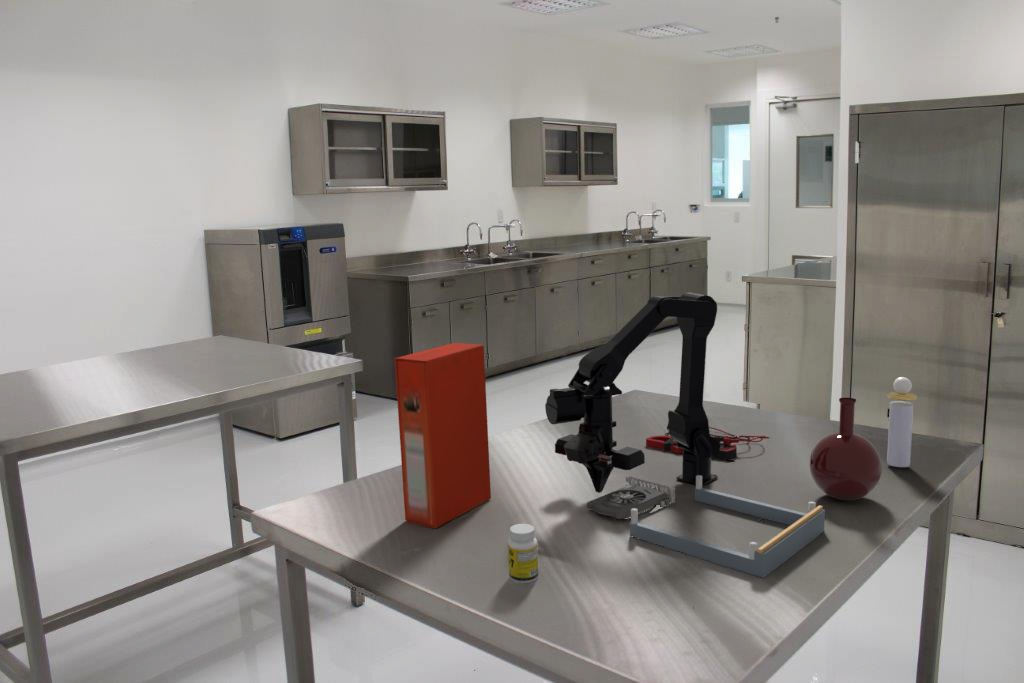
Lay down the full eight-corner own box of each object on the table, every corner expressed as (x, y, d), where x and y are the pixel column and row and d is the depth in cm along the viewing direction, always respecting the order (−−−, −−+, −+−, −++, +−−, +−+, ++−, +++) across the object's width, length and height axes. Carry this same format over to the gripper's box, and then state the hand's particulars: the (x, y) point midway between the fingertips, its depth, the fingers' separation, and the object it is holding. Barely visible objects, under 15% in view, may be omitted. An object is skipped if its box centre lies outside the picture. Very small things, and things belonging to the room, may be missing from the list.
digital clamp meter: (741, 448, 181) (639, 432, 196) (740, 467, 182) (639, 450, 196) (775, 422, 200) (681, 409, 214) (775, 440, 200) (680, 426, 215)
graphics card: (629, 474, 170) (676, 486, 161) (629, 491, 170) (677, 504, 161) (573, 496, 159) (620, 510, 150) (574, 514, 159) (621, 530, 150)
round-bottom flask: (847, 516, 152) (852, 411, 148) (793, 494, 163) (796, 397, 160) (895, 502, 158) (900, 401, 154) (840, 482, 169) (843, 388, 166)
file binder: (404, 520, 157) (394, 357, 151) (459, 492, 170) (452, 342, 165) (436, 529, 152) (427, 361, 146) (491, 499, 166) (484, 345, 160)
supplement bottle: (508, 571, 134) (506, 523, 132) (536, 569, 134) (535, 521, 133) (510, 585, 129) (508, 535, 128) (540, 583, 129) (538, 533, 128)
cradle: (697, 498, 163) (698, 474, 162) (824, 531, 145) (825, 504, 144) (629, 536, 146) (629, 509, 145) (763, 578, 129) (764, 548, 128)
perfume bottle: (917, 471, 174) (922, 380, 170) (889, 471, 174) (893, 380, 171) (907, 462, 179) (911, 374, 176) (879, 462, 180) (884, 374, 177)
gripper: (536, 418, 163) (538, 493, 166) (611, 435, 151) (612, 515, 153) (571, 407, 171) (572, 478, 174) (646, 421, 158) (646, 498, 161)
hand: (599, 492), depth 165 cm, fingers closed
